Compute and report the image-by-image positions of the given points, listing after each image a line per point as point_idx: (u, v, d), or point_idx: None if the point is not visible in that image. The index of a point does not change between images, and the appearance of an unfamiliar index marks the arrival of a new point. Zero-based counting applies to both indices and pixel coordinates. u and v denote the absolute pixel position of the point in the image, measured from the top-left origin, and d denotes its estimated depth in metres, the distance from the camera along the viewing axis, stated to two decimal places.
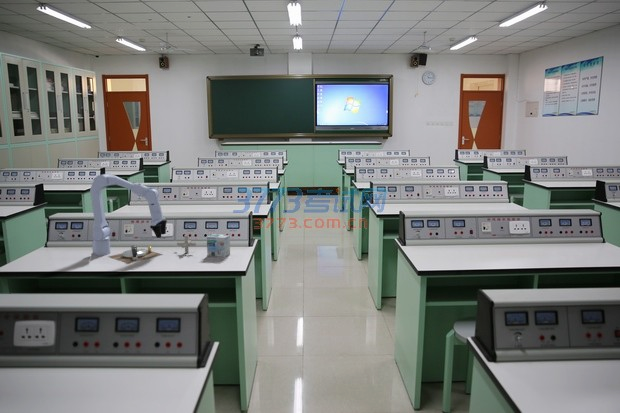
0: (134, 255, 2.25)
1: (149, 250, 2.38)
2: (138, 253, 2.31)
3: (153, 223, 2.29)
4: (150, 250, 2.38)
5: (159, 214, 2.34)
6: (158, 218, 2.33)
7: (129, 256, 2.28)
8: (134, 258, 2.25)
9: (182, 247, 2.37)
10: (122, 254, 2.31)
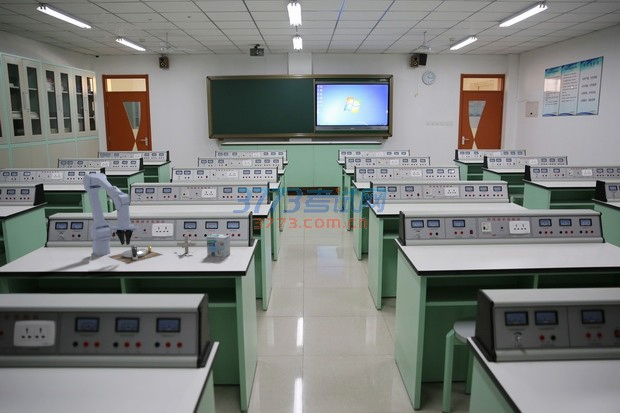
0: (134, 255, 2.25)
1: (149, 250, 2.38)
2: (138, 253, 2.31)
3: None
4: (150, 250, 2.38)
5: (118, 222, 2.20)
6: (118, 225, 2.21)
7: (129, 256, 2.28)
8: (134, 258, 2.25)
9: (182, 247, 2.37)
10: (122, 254, 2.31)
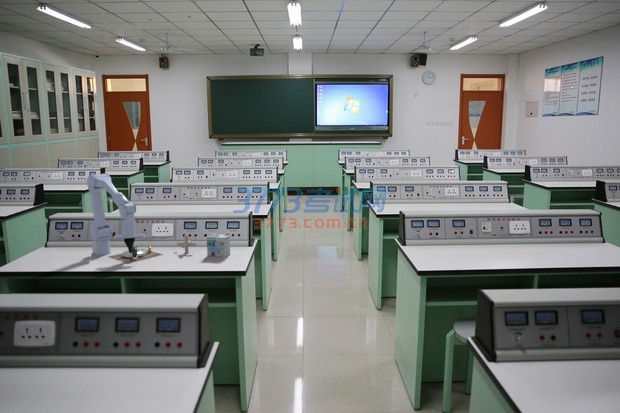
0: (134, 255, 2.25)
1: (149, 250, 2.38)
2: (138, 253, 2.31)
3: None
4: (150, 250, 2.38)
5: (124, 231, 2.21)
6: (123, 234, 2.22)
7: (129, 256, 2.28)
8: (134, 258, 2.25)
9: (182, 247, 2.37)
10: (122, 254, 2.30)
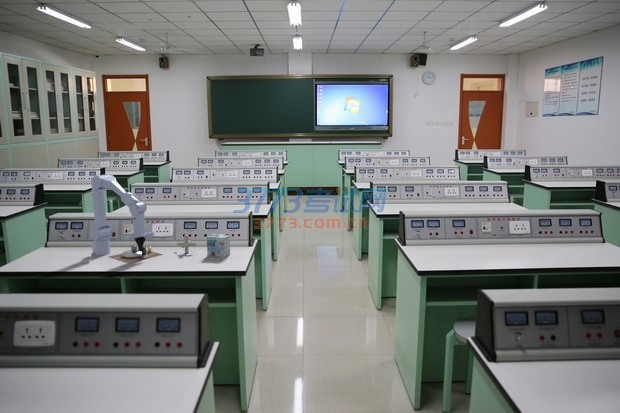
0: (144, 253, 2.28)
1: (149, 250, 2.38)
2: (141, 252, 2.33)
3: (125, 237, 2.21)
4: (150, 250, 2.38)
5: (137, 230, 2.23)
6: (136, 233, 2.23)
7: (136, 256, 2.29)
8: (145, 256, 2.28)
9: (182, 247, 2.37)
10: (125, 255, 2.28)
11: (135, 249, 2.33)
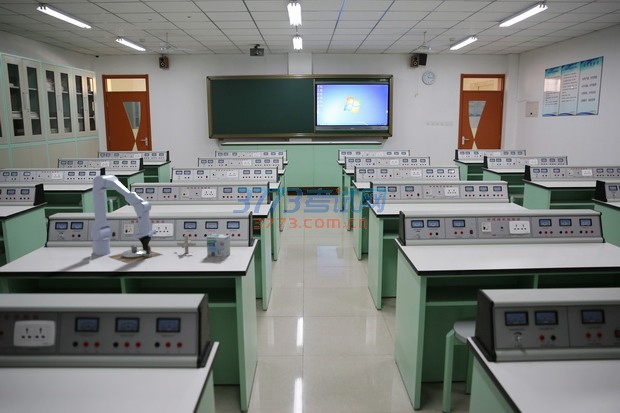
0: (149, 252, 2.31)
1: None
2: (142, 251, 2.35)
3: (133, 237, 2.22)
4: (150, 250, 2.38)
5: (144, 229, 2.25)
6: (142, 232, 2.25)
7: (140, 255, 2.30)
8: (150, 255, 2.31)
9: (182, 247, 2.37)
10: (129, 255, 2.28)
11: (135, 249, 2.33)
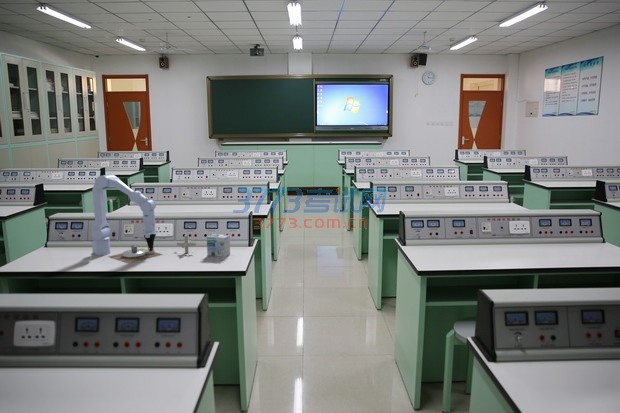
0: (153, 249, 2.37)
1: None
2: (141, 250, 2.37)
3: (147, 235, 2.26)
4: None
5: (153, 226, 2.31)
6: (151, 230, 2.31)
7: (145, 253, 2.34)
8: (154, 251, 2.37)
9: (182, 247, 2.37)
10: (137, 255, 2.29)
11: (135, 249, 2.33)
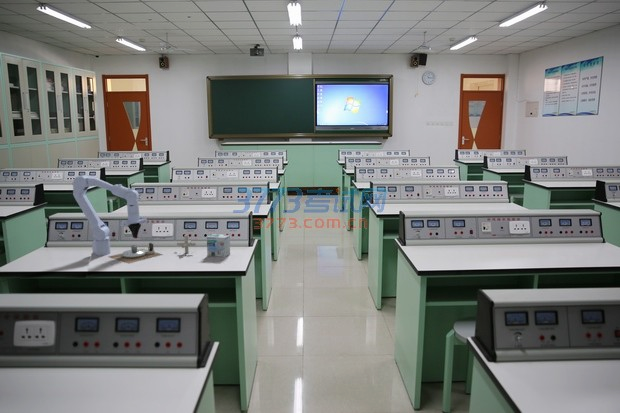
0: (153, 249, 2.37)
1: None
2: (141, 250, 2.37)
3: (121, 224, 2.32)
4: None
5: (132, 216, 2.34)
6: (131, 220, 2.34)
7: (145, 253, 2.34)
8: (154, 251, 2.37)
9: (182, 247, 2.37)
10: (137, 255, 2.29)
11: (135, 249, 2.33)
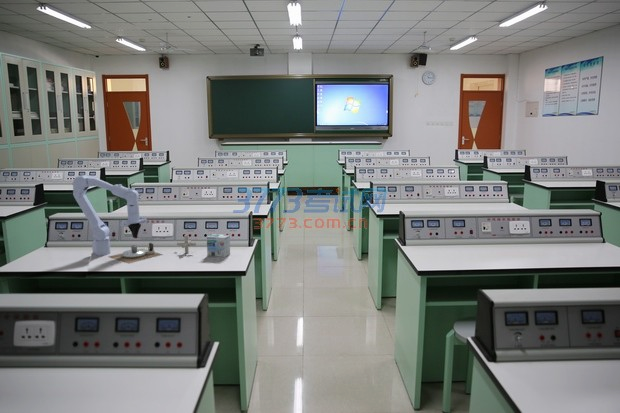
0: (153, 249, 2.37)
1: None
2: (141, 250, 2.37)
3: (121, 224, 2.32)
4: None
5: (132, 216, 2.34)
6: (131, 220, 2.34)
7: (145, 253, 2.34)
8: (154, 251, 2.37)
9: (182, 247, 2.37)
10: (137, 255, 2.29)
11: (135, 249, 2.33)
